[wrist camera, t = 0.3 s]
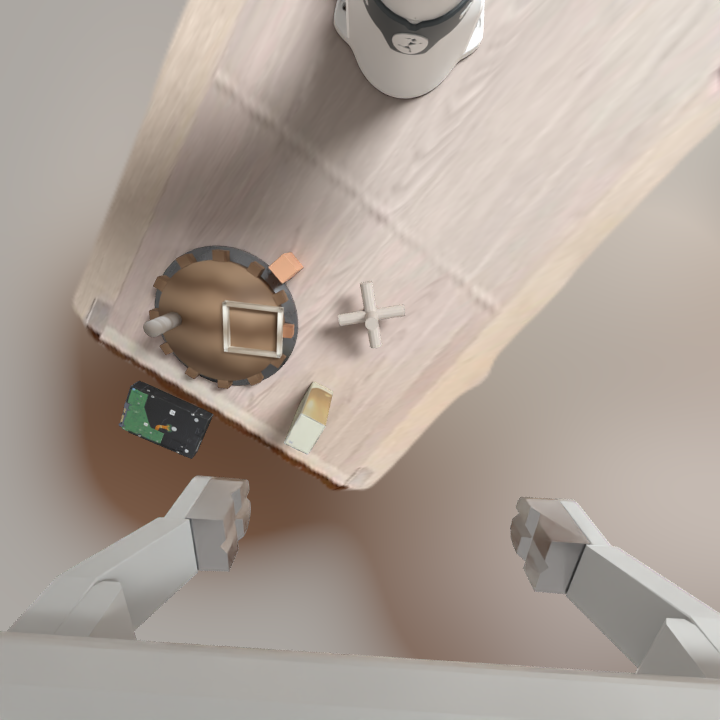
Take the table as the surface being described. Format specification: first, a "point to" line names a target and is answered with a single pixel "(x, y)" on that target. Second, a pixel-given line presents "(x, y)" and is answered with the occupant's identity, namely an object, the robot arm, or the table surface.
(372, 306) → the pipe connector
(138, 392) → the disk drive
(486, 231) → the table surface
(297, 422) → the skincare box
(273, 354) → the dial
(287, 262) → the orange rectangular block
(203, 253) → the dial base
